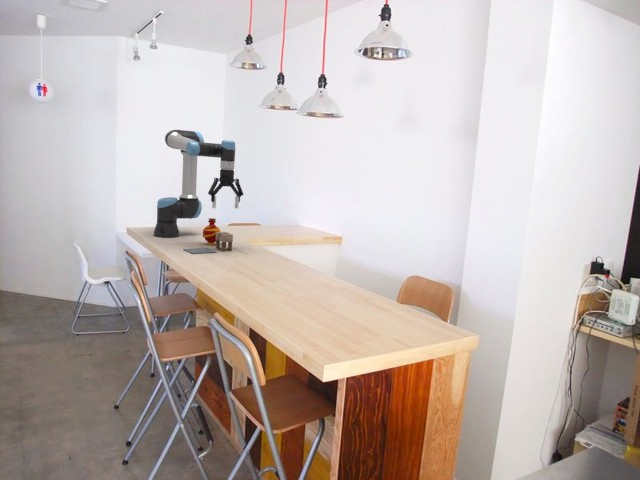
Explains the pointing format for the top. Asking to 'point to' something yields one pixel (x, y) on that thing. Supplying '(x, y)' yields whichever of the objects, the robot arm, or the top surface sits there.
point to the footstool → (224, 240)
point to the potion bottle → (211, 232)
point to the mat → (199, 250)
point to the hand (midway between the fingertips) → (225, 208)
